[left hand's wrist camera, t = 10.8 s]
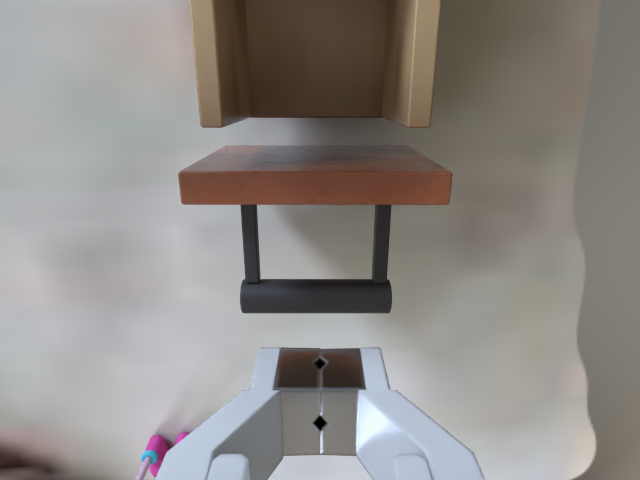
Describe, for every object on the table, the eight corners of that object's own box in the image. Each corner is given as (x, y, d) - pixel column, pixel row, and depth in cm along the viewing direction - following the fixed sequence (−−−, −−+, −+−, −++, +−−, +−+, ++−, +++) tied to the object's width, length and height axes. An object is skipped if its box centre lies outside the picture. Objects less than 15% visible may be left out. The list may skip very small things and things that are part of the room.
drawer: (399, 268, 24) (434, 344, 17) (233, 268, 24) (196, 344, 17) (439, -296, 16) (539, -617, 9) (192, -297, 16) (87, -619, 9)
